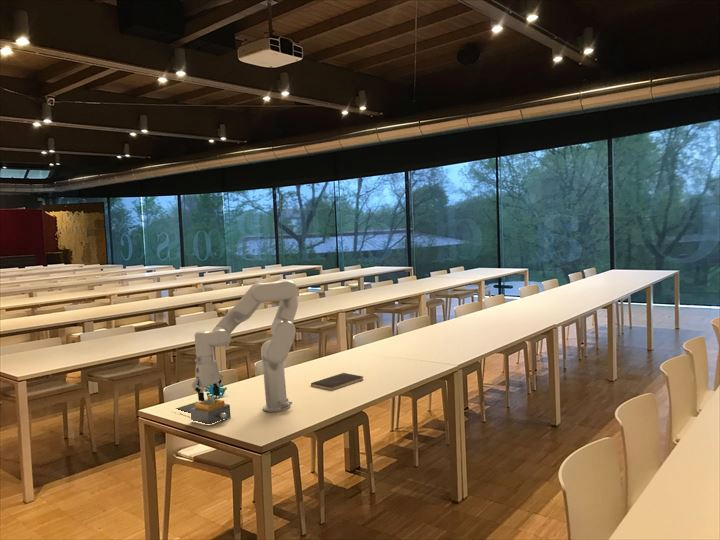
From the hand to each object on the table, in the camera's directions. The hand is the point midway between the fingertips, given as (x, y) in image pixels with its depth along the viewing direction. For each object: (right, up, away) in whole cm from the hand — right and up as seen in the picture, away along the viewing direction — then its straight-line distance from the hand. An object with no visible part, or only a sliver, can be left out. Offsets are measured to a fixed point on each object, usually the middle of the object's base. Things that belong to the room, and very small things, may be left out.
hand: (209, 398), depth 254 cm
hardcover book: (+55, -3, +47) cm, 73 cm away
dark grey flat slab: (-11, -10, +17) cm, 23 cm away
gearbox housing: (+2, -10, 0) cm, 10 cm away
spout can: (+1, -10, +1) cm, 10 cm away
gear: (-6, -8, +37) cm, 38 cm away
